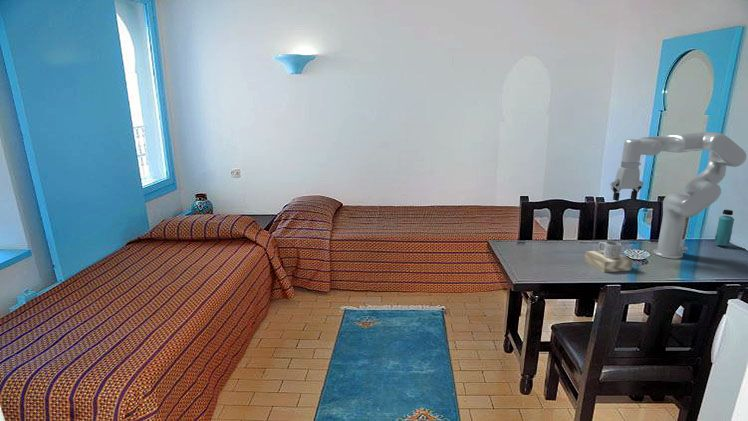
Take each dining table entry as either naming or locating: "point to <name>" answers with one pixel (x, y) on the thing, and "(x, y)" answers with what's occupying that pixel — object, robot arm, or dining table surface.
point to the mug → (611, 249)
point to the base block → (608, 262)
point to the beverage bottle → (724, 228)
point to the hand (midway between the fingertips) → (624, 199)
